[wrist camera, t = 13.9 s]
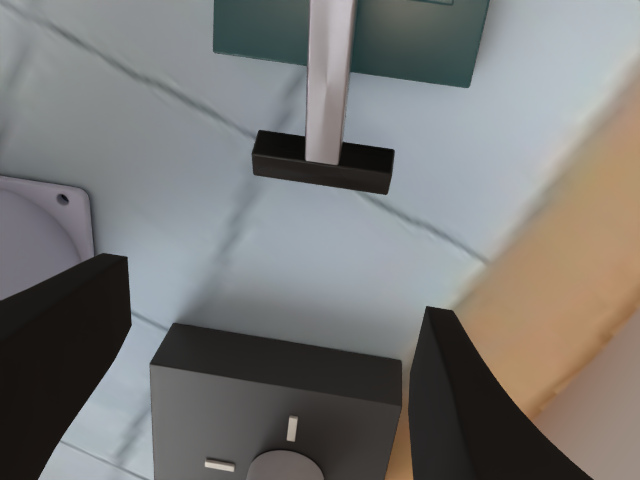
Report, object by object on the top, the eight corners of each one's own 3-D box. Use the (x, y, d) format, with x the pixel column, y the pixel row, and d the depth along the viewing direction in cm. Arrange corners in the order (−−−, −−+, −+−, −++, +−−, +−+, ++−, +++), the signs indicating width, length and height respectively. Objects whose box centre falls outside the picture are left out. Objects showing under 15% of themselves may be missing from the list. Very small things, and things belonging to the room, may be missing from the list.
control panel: (174, 458, 32) (153, 508, 29) (172, 322, 28) (147, 366, 25) (371, 493, 31) (368, 547, 29) (402, 360, 27) (402, 409, 24)
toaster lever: (392, 156, 20) (385, 212, 19) (264, 137, 20) (248, 191, 19) (477, -238, 11) (476, -184, 9) (240, -264, 11) (207, -214, 10)
